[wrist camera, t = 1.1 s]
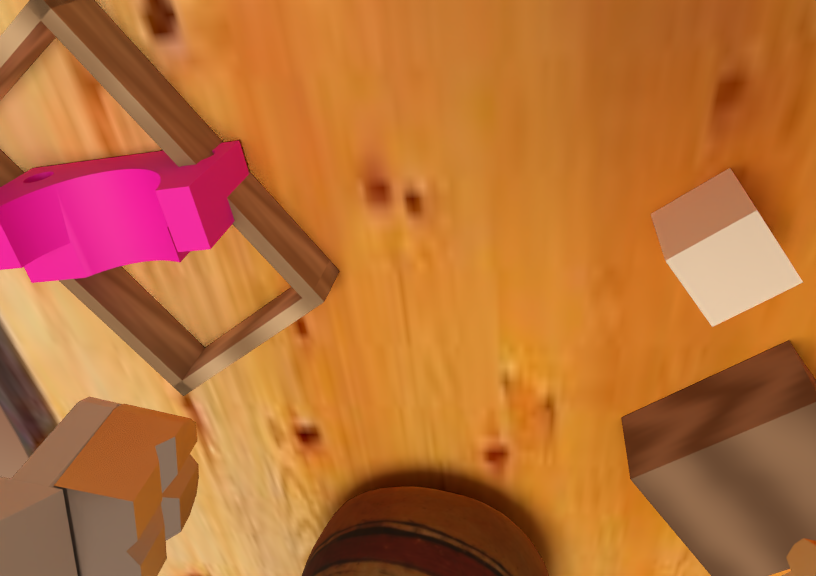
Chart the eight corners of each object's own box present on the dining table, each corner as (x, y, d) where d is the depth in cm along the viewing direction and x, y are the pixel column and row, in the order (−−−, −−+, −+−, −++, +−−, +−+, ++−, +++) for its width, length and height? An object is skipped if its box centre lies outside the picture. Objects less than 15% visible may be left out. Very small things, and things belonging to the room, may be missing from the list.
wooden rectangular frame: (77, -18, 41) (36, -8, 38) (339, 271, 48) (324, 301, 45) (-43, 123, 47) (-89, 143, 44) (205, 362, 54) (183, 396, 51)
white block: (729, 167, 41) (757, 210, 36) (771, 232, 42) (803, 282, 37) (650, 213, 43) (665, 260, 38) (692, 274, 45) (712, 326, 40)
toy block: (70, 251, 51) (2, 306, 44) (32, 168, 48) (-46, 214, 42) (266, 231, 48) (224, 288, 41) (239, 140, 45) (188, 186, 38)
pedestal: (788, 340, 46) (820, 400, 41) (870, 461, 49) (908, 530, 44) (621, 417, 51) (630, 479, 46) (706, 522, 55) (723, 590, 49)
